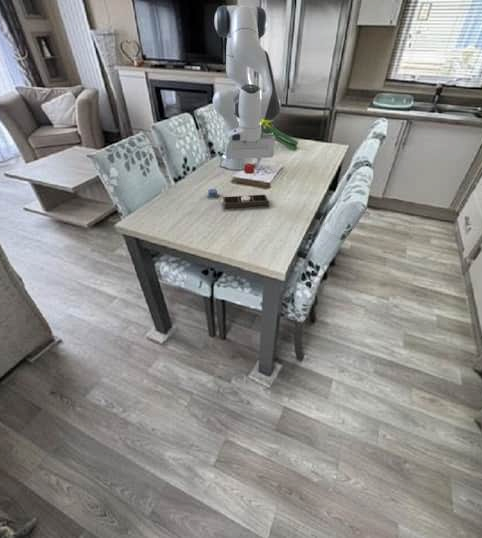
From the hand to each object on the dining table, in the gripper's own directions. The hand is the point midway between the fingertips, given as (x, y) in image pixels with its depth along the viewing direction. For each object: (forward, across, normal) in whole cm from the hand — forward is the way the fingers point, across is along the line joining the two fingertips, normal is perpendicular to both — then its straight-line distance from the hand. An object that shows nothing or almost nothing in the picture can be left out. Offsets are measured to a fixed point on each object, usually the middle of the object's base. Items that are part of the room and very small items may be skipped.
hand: (249, 168), depth 126 cm
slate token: (+17, +16, -10) cm, 25 cm away
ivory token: (+16, +2, +1) cm, 16 cm away
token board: (+17, +2, +1) cm, 17 cm away
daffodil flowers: (+17, -34, -85) cm, 93 cm away
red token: (+2, 0, 0) cm, 2 cm away
